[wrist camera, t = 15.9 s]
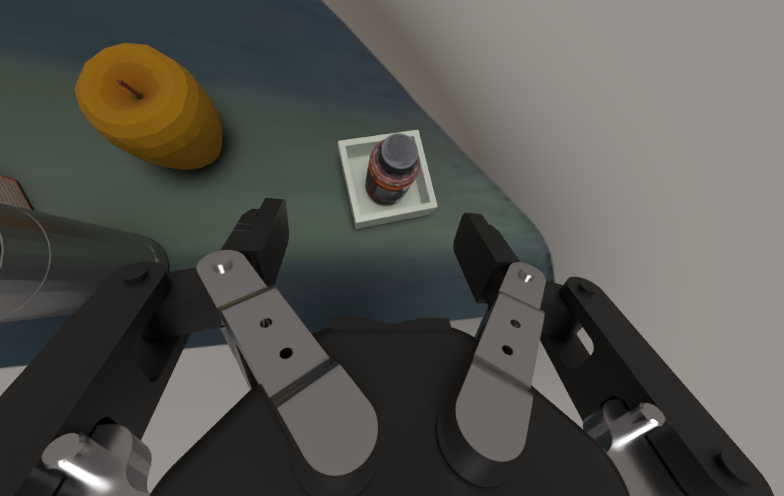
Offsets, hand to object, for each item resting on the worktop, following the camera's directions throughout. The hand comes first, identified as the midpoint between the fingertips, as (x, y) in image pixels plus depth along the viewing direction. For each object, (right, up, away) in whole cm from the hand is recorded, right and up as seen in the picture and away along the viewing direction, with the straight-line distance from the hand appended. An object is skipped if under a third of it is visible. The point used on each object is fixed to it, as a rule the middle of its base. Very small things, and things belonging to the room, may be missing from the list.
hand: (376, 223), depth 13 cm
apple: (-26, +13, +25) cm, 38 cm away
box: (0, +8, +28) cm, 29 cm away
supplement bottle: (0, +8, +27) cm, 29 cm away
